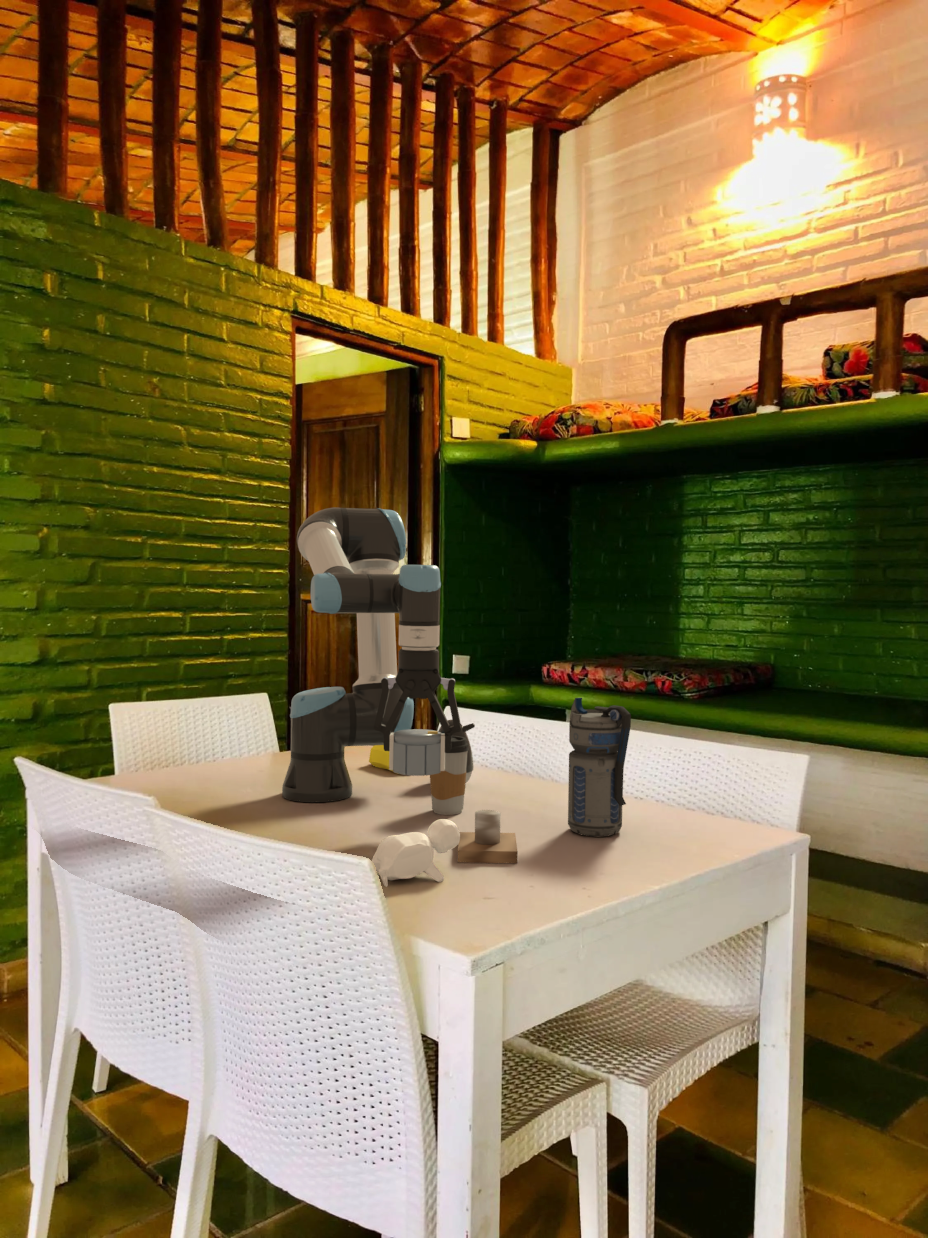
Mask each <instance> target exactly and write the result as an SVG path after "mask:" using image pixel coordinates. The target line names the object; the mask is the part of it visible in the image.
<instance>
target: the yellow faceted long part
mask: <svg viewBox="0 0 928 1238" xmlns="http://www.w3.org/2000/svg"><path fill="white" fill-rule="evenodd" d="M368 758H369V759H368V762H369V763H370V764H371V765H372V766H373V767H374V766H375V767H374V768H379V769H385V770H388V771H390V772H393V770H389V751H384V745H372V746H371V748H370V752H369V757H368ZM393 773H394V774H398V773H395V772H393ZM398 775H399V774H398Z"/></svg>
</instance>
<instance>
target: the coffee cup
mask: <svg viewBox="0 0 928 1238" xmlns="http://www.w3.org/2000/svg"><path fill="white" fill-rule="evenodd" d="M468 750H469V749H468V743H466V738H464V737H460V736H451V751H450V752H445V770H444V771H440V773H438V774H432V775H429V782H430V783H429V785H430V794H431V796H430V797H431V809H432V810H433V813H435V814H437V815H441V816H442V815H444V816H445V815H447V816H451V815H453V816H455V815H459V814H461V813H462V811H463V810H464V805H465V804H464V802H465V795H466V793H465V792H466V784H467V783H466V765H467V752H468Z"/></svg>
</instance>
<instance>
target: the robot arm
mask: <svg viewBox="0 0 928 1238" xmlns="http://www.w3.org/2000/svg"><path fill="white" fill-rule="evenodd" d="M405 530H406V529H405V526H404V522H403V520H402V517H401V515H399V513H398V512H397V511H395V510H392V509H383V508H380V507H379V508H378V507H377V508H360V507H359V508H357V507H355V508H354V507H328V508H324V509H321V510H318V511H316V512H314V513H313V514H311V515H309V516H308V517H307V518H306V519H305V520H304V521H303V522H302V524H301V525H300V527H299V528H298V531H297V535H296V544H297V548H298V551H299V553H300V555H301V556H302V558H304V559H305V560H306V561H308V564H309V566H310V568H311V571H312V573H313V576H312V578H311V581H310V601H311V608H312V610H313V611H314V612H316V613H320V614H321V613H323V614H325V613H326V614H330V615H335V614H356V627H357V631H356V632H357V633H356V635H357V656H358V657H357V658H358V678H357V680H355V682H354V683H353V684H352V692H351V693H350V692H349V693H347V692H346V690H345V688H344V687H343V686H331V687H330V686H326V687H317V688H312V689H307V690H303V691H300V692H298V693H296V694H295V695H294V696H293V697H292V699H291V703H290V704H291V706H290V714H289V717H290V760H289V765H288V768H287V771H286V774H285V777H284V779H283V783H282V791H281V792H282V797H283V798H284V799H286V800H289V801H294V802H301V803H325V802H328V803H329V802H336V801H341V800H345V799H348V798H350V797H351V796H352V795H353V784H352V780H351V777H350V774H349V770H348V767H347V763H346V760H345V747H365V746H366V747H367V746H374V745H384V751H389V770H388V771H390V770H393V743H394V732H396V731H400V730H408V729H412V726H413V719H414V713H415V711H414V708H415V705H414V704H415V703H414V699H417V698H419V699H420V700H421V699H422V700H427V699H428V701H429V703H430V705H431V707H432V709H433V712H434V713H435V716H436V717H437V720H438V722H439V724H440V727H441V726H442V729H443V731H444V733H445V734H441V757H440V771H444V770H445V752H450V751H451V736H452V734H454V733H457V732H460V731H461V724H462V723H461V717H460V715H459V714H460V713H459V709H458V704H457V698H456V694H455V686H456V679H455V678H454V677H451V678H447V677H446V678H445V677H442V676H441V674H440V650H439V649H438V647H439V646H440V631H441V629H440V626H441V625H440V612H441V606H440V605H441V586H442V581H441V571H440V568H439V566H437V565H436V564H435V565H434V564H403V565H401V566H400V561H401V560H404V558H405V557H406V554H407V553H406V552H407V546H406V545H407V535H406V531H405ZM399 566H400V568H399ZM398 568H399V573H398V574H397V573H396V574H395V573H394V572H395V571H396V570H397V569H398ZM395 614H399V615H398V617H399V618H398V646H399V647H401V648H400V649H399V650H398V660H397V641H396V640H397V637H396V617H395V616H396V615H395ZM397 663H398V665H397ZM440 685H442V686H443V689H444V690H445V691H446V693H447V695H446V696H447V699H448V700H447V701H448V703H449V710H450V713H451V714H450V715H451V720H453V725H454V726H451V727H450V725H449V723H448V721H447V720H448V719H447V717H446V714H445V712H444V710H443V708H442V706H441V704H440V701H439V700H438V697H437V695H436V693H435V691H436V690H437V689H438V687H439V686H440Z"/></svg>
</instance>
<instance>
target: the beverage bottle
mask: <svg viewBox="0 0 928 1238" xmlns="http://www.w3.org/2000/svg"><path fill="white" fill-rule="evenodd" d="M570 708H571V709H570V714H569V722H568V723H569V724H568V725H569V729H568V730H569V733H568V735H569V736H568V737H569V739H568V741H569V744H570V745H571V747H572V748H573V750H571V751H570V752H569V753H568V793H567V794H568V795H567V796H568V797H567V798H568V800H567V801H568V802H567V807H568V809H567V825H568V827H569V829H570V830H571V831H572V832H573V833H576V834H579V835H581V834H582V835H581V836H585V835H587V837H592V836H604V837H609V836H608V835H610V836H612V834H613V835H616V834H618V833H619V832H620V830H621V829H622V826H623V806H624V805H625V806H626V805H627V803H626V800H625V799H624V795H623V794H624V768H625V760H626V756H627V749H628V743H629V737H630V733H631V732H630V731H631V723H632V722H631V721H632V715H631V714H632V713H630V712H629V711H628V710H627V709H626V708H625V707H624V706H620V705H610V706H609V707H607V706H605V707H604V706H594V709H584V707H583V697H574V700H573V703H572V704H571V707H570Z"/></svg>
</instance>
